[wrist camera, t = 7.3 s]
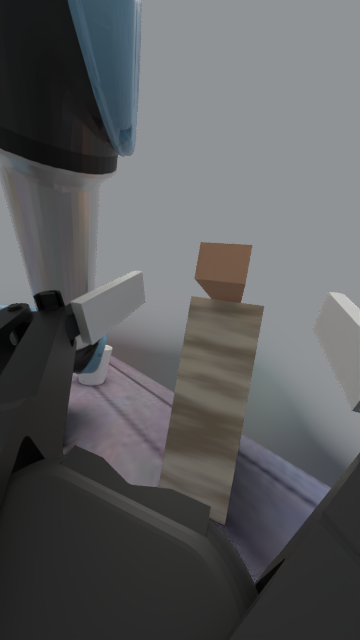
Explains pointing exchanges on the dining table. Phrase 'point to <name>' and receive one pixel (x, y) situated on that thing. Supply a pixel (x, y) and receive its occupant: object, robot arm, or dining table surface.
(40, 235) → the robot arm
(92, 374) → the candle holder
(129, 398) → the dining table surface
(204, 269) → the lever bar
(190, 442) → the pedestal
